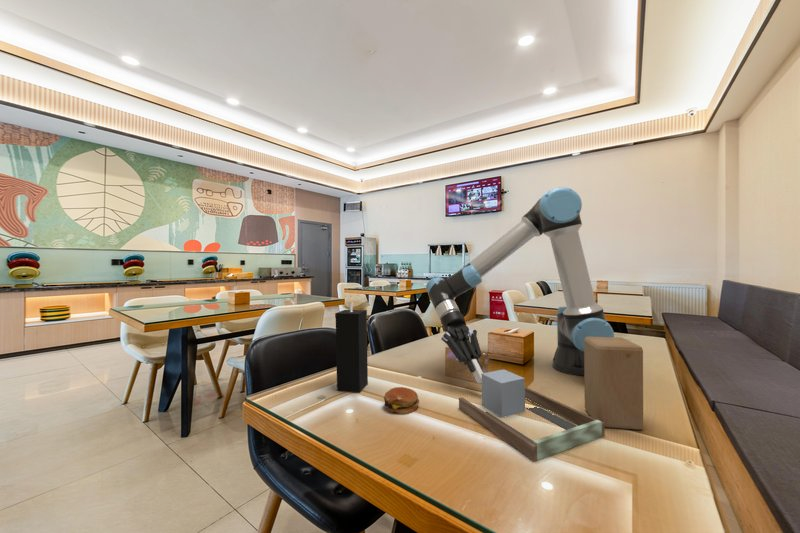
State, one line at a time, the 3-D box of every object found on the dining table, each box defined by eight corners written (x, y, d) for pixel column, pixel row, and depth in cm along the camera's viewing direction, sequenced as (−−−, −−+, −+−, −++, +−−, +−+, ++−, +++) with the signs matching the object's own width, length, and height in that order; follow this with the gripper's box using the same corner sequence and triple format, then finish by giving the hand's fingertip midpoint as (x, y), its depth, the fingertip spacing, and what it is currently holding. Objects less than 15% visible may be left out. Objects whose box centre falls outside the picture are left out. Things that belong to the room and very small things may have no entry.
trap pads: (527, 401, 92) (527, 401, 92) (578, 427, 78) (578, 426, 78) (476, 415, 85) (476, 414, 85) (522, 446, 70) (522, 445, 70)
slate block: (504, 400, 94) (503, 369, 94) (525, 411, 87) (524, 378, 86) (481, 405, 91) (481, 373, 90) (501, 417, 83) (501, 383, 83)
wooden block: (645, 431, 75) (645, 346, 75) (598, 428, 77) (597, 345, 77) (624, 412, 85) (624, 336, 85) (583, 409, 87) (582, 335, 87)
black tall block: (336, 391, 102) (334, 302, 102) (346, 381, 110) (344, 299, 109) (359, 393, 100) (358, 303, 100) (368, 383, 108) (366, 300, 108)
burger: (413, 398, 96) (413, 382, 96) (423, 412, 87) (422, 395, 87) (380, 402, 94) (380, 386, 94) (387, 417, 85) (387, 400, 85)
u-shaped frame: (519, 394, 98) (519, 382, 98) (604, 435, 74) (604, 420, 74) (458, 408, 89) (458, 396, 89) (533, 461, 65) (533, 444, 65)
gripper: (461, 321, 116) (493, 383, 101) (430, 324, 110) (458, 390, 96) (470, 308, 111) (505, 371, 96) (437, 311, 105) (468, 378, 91)
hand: (481, 381), depth 96 cm, fingers closed
